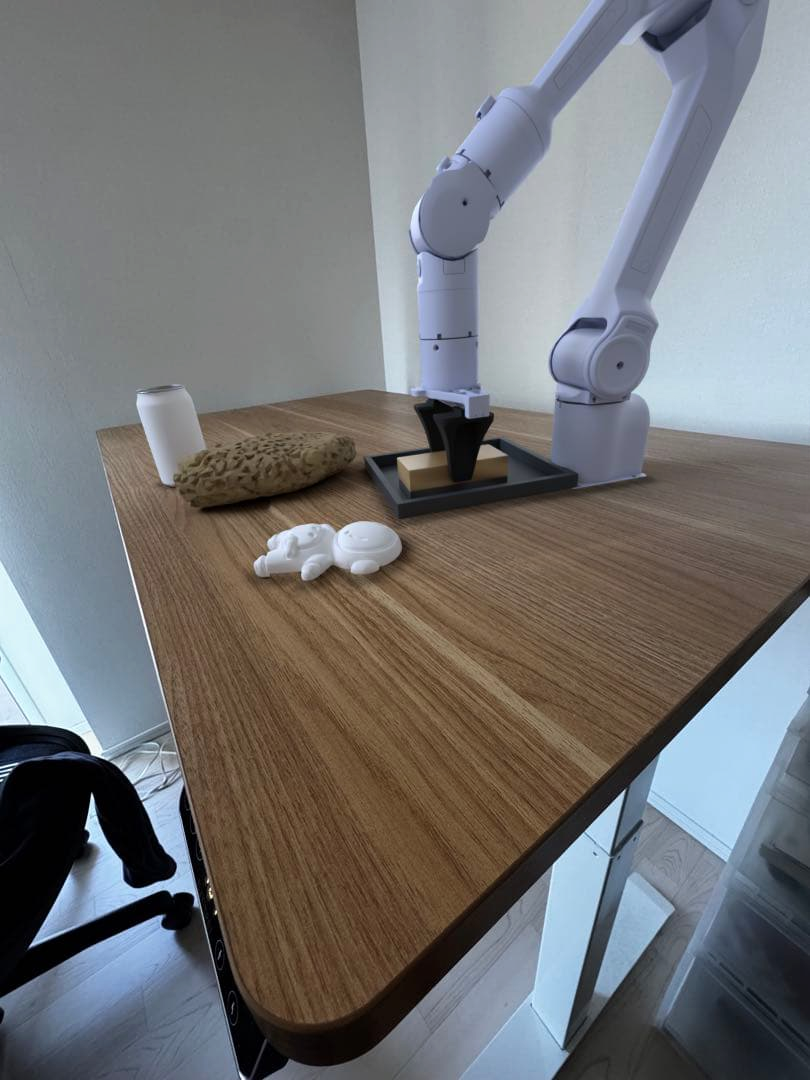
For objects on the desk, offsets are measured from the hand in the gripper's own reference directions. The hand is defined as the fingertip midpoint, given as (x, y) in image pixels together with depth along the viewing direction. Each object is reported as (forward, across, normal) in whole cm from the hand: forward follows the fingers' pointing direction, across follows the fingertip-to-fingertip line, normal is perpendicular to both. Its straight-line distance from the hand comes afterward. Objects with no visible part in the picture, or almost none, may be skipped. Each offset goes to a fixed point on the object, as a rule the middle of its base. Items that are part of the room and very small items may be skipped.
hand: (452, 472), depth 49 cm
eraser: (+2, 0, 0) cm, 2 cm away
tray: (+2, -3, +2) cm, 4 cm away
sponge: (+2, -10, -19) cm, 22 cm away
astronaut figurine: (+2, +10, -15) cm, 18 cm away
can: (+2, -20, -31) cm, 37 cm away
